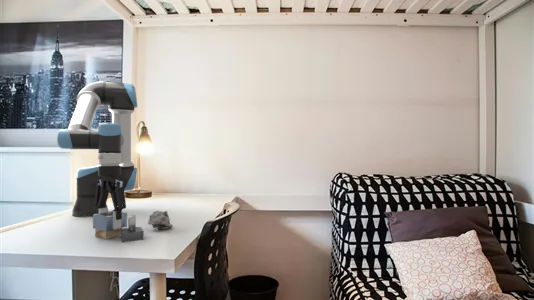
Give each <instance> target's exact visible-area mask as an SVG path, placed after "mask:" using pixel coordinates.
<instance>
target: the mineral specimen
mask: <svg viewBox="0 0 534 300" xmlns="http://www.w3.org/2000/svg"><path fill="white" fill-rule="evenodd" d="M147 223H148V225H151V227H152V228H153V229H157V230H159V229H160V230H167V229H169V228H172V227H173V224H172V223H171V221H170V217H169V215H168V211H166V210H155V211H153V212H152V214H150V215H149V219H148V221H147Z"/></svg>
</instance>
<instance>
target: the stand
mask: <svg viewBox="0 0 534 300" xmlns="http://www.w3.org/2000/svg"><path fill="white" fill-rule="evenodd" d="M110 215H112V213H107V214H106V216H110ZM121 229H123V228H119V229H114V230H110V231H102V230H98V229H95V230H94V232H95V233H94V236H95V237H97V238H100V239H105V240H107V239H110V238H114V237H118V236H121Z"/></svg>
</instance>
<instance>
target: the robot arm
mask: <svg viewBox="0 0 534 300" xmlns="http://www.w3.org/2000/svg"><path fill="white" fill-rule="evenodd" d="M137 99H138V98H137V93H136V88H135V86H134V84H132V83H127V82H126V83H125V82H113V81H101V80H100V81H94V82H92V83H89V84H87V85H86V86H84V87H83V88H82V89H81V90H80V91H79V92H78V94H77V96H76V102H77V103H76V107H75V110H74V112H73V114H72V117H71V119H70V123H69V124H68V128H65V129H63V128H61V129H59V130H58V132H57V136H56V138H57V139H56V141H57V142H56V143H57V146H58V147H59V148H60V149H63V150H64V149H66V150H98V153H97V154H98V156H97V158H98V165H94V166H86V167H81V168H78V170H77V172H76V178H75V179H76V199H75V200H76V201H75V202H74V204H73V208H72V212H71V214H72V216H73V217H93V214H98V213H104V212H109V211H108V210H109V208H108V205H107V201H108V198H109V194H110V197H111V201H112V204H113V205H112V206H113V208H114V209H113V210H112V211H113V229H118V228H121V218H122V212H123V210H124V209H126V208H127V202H126V195H125V194H126V193H125V192H126V191H127V192H129V191H134V189H135V186H136V181H137V180H136V179H137V173H138V168H137V167H135V163H133V162H132V114H133V113H134V112H135V109H136V108H138V100H137ZM100 106H102V107H103V106H105V107H108V111H109V112H111V122H100V123H99V124H98V129H92V125H93V122H94V119H95V116H96V112H97V109H98V108H99V107H100Z"/></svg>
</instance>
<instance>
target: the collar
mask: <svg viewBox="0 0 534 300" xmlns="http://www.w3.org/2000/svg"><path fill="white" fill-rule="evenodd" d="M107 213H112V215H110V216H106V214H107ZM127 226H128V213H127V212H124V211H122V218H121V228H122V229H124V228H128V227H127ZM92 229H98V230H102V231H110V230H114V229H113V210H110V211H108V212H104V213H98V214H93V216H92ZM118 229H119V228H118Z"/></svg>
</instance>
